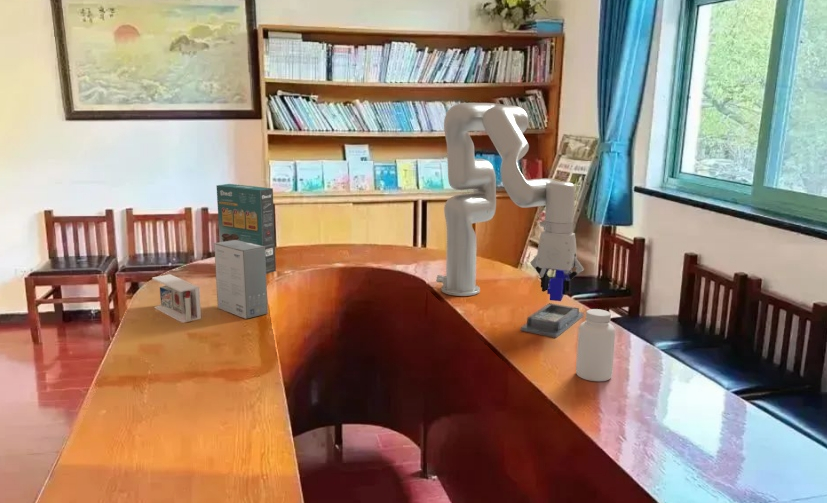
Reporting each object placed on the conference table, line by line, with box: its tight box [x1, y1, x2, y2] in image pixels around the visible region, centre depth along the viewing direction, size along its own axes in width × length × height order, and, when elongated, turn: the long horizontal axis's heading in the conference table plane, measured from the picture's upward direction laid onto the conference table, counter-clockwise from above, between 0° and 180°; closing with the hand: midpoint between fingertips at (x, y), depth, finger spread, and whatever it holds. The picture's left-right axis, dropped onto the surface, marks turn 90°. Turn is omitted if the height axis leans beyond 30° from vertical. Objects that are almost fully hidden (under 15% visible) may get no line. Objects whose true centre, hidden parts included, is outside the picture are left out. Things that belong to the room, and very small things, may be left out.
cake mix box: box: [216, 183, 277, 275], centre depth 243 cm, size 22×6×30 cm, turn 58°
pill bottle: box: [575, 308, 616, 382], centre depth 151 cm, size 8×8×15 cm
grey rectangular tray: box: [520, 302, 585, 339], centre depth 188 cm, size 10×22×3 cm, turn 148°
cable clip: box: [546, 270, 565, 302], centre depth 186 cm, size 12×4×6 cm, turn 161°
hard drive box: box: [213, 240, 269, 320], centre depth 194 cm, size 16×8×20 cm, turn 47°
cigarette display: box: [151, 273, 202, 324], centre depth 193 cm, size 20×6×9 cm, turn 44°
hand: (555, 291), depth 186 cm, fingers closed on cable clip, 5 cm apart
